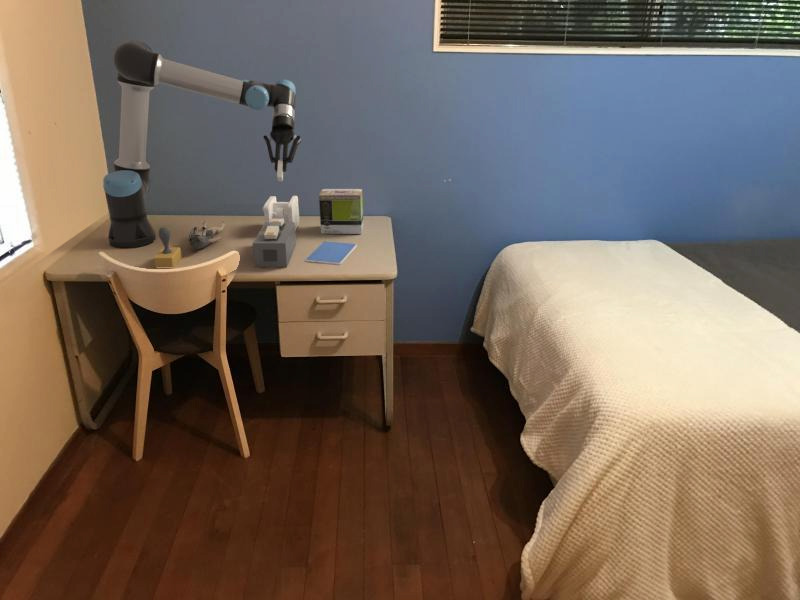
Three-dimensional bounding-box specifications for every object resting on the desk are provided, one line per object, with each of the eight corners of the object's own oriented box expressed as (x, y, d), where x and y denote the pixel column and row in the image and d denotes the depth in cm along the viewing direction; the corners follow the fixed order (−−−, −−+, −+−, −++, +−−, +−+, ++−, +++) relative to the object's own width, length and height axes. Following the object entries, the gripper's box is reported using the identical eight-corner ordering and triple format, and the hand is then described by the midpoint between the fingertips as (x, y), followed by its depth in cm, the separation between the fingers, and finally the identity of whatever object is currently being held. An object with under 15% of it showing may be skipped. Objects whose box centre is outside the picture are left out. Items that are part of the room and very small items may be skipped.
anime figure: (226, 216, 227) (208, 230, 198) (228, 235, 229) (210, 253, 200) (200, 216, 226) (178, 231, 198) (202, 236, 228) (180, 253, 200)
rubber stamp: (173, 268, 191) (168, 231, 186) (154, 269, 190) (148, 232, 185) (182, 257, 200) (177, 222, 195) (164, 257, 199) (158, 222, 195)
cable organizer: (293, 236, 220) (291, 205, 215) (264, 236, 220) (261, 205, 215) (300, 224, 234) (298, 194, 229) (272, 224, 234) (269, 194, 229)
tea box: (363, 226, 232) (363, 188, 226) (361, 235, 223) (360, 195, 217) (323, 226, 232) (322, 187, 226) (320, 234, 223) (318, 194, 217)
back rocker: (270, 226, 201) (269, 221, 200) (273, 223, 207) (273, 218, 206) (281, 226, 201) (280, 221, 200) (284, 223, 207) (284, 218, 206)
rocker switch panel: (254, 268, 192) (252, 243, 188) (267, 244, 212) (265, 221, 209) (286, 268, 192) (285, 243, 189) (296, 244, 212) (294, 221, 209)
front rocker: (264, 239, 191) (264, 234, 191) (268, 230, 197) (267, 225, 196) (276, 239, 192) (275, 234, 191) (279, 230, 197) (278, 225, 196)
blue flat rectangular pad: (340, 266, 195) (340, 263, 194) (303, 263, 198) (303, 259, 197) (358, 247, 212) (358, 243, 212) (323, 244, 215) (323, 240, 214)
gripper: (303, 127, 219) (300, 185, 211) (266, 127, 219) (262, 185, 210) (300, 114, 212) (297, 173, 204) (262, 114, 212) (258, 173, 203)
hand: (279, 179), depth 207 cm, fingers closed
